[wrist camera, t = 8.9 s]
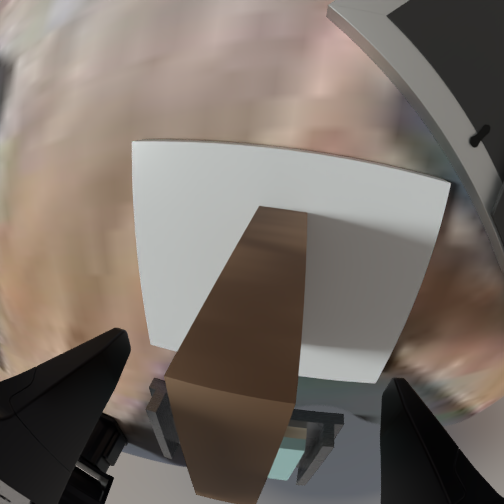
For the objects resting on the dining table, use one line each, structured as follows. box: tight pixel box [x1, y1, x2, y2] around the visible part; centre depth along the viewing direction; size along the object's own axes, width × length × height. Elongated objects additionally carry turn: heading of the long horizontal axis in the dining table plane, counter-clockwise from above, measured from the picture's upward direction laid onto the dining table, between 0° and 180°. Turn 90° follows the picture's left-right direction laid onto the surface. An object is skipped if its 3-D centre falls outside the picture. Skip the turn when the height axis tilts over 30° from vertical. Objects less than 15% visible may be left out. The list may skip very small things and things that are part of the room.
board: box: [132, 139, 451, 383], centre depth 14 cm, size 14×12×1 cm
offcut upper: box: [267, 437, 306, 480], centre depth 19 cm, size 6×7×1 cm
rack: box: [146, 378, 344, 485], centre depth 20 cm, size 14×9×3 cm, turn 86°
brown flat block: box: [164, 206, 308, 504], centre depth 9 cm, size 2×7×9 cm, turn 176°
